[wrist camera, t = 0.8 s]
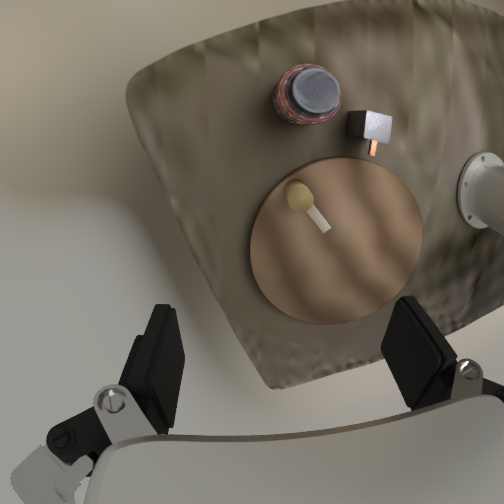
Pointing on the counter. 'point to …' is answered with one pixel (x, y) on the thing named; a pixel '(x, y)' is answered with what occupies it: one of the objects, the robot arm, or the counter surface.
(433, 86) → the counter surface
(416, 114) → the counter surface
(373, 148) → the small hammer
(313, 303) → the turntable
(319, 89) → the supplement bottle
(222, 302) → the counter surface
